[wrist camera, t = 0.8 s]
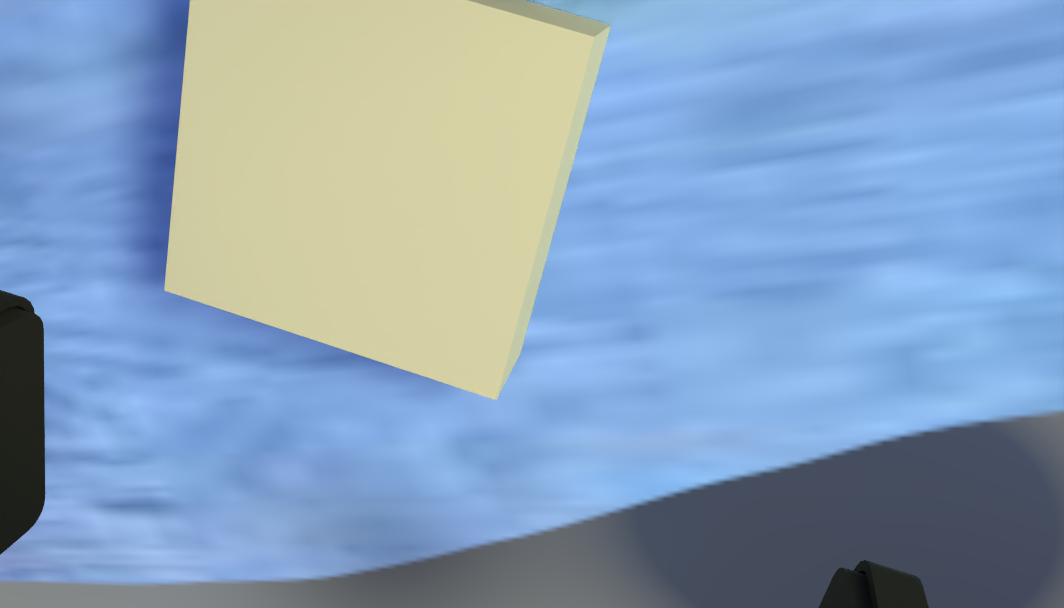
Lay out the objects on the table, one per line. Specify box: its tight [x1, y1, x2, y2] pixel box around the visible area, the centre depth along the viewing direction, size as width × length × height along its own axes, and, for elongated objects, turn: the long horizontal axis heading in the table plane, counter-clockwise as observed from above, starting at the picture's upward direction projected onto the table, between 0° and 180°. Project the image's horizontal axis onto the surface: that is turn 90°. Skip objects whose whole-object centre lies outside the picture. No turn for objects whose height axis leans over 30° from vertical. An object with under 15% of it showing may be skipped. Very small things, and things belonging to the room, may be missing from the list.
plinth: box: [164, 0, 611, 400], centre depth 33 cm, size 13×13×4 cm
